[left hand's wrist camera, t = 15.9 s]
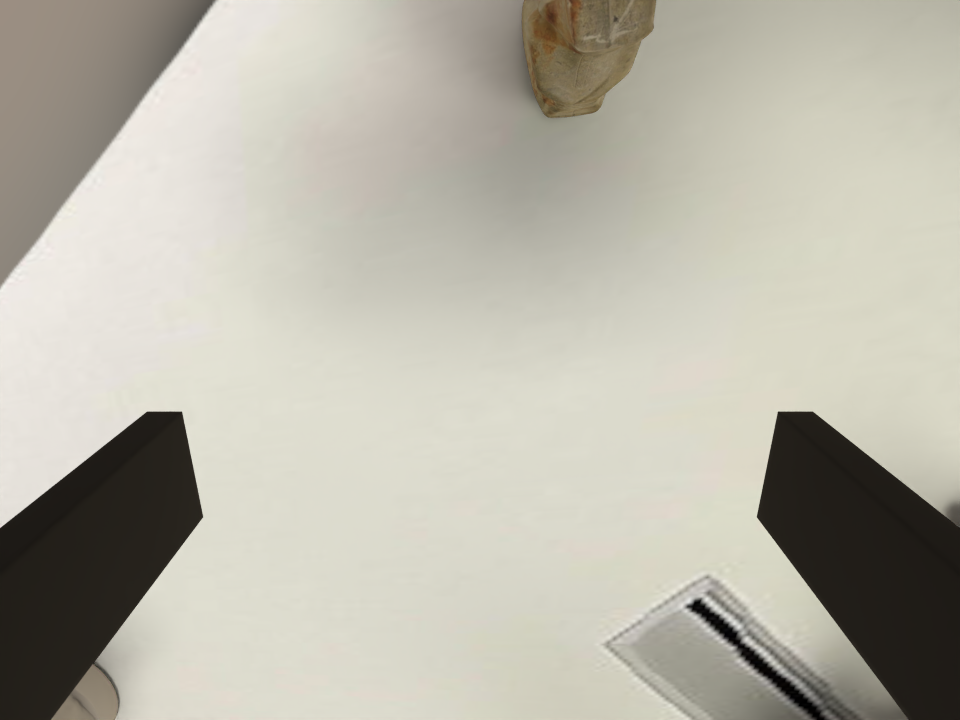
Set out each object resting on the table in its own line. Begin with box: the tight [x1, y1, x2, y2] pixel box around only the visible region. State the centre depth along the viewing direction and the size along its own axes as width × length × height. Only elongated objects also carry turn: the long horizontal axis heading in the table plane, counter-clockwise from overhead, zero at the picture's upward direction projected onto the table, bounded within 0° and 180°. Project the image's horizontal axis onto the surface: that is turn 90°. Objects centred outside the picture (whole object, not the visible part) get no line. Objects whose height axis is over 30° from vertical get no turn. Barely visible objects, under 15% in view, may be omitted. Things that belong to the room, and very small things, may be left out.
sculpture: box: [522, 0, 656, 118], centre depth 29 cm, size 6×7×15 cm
